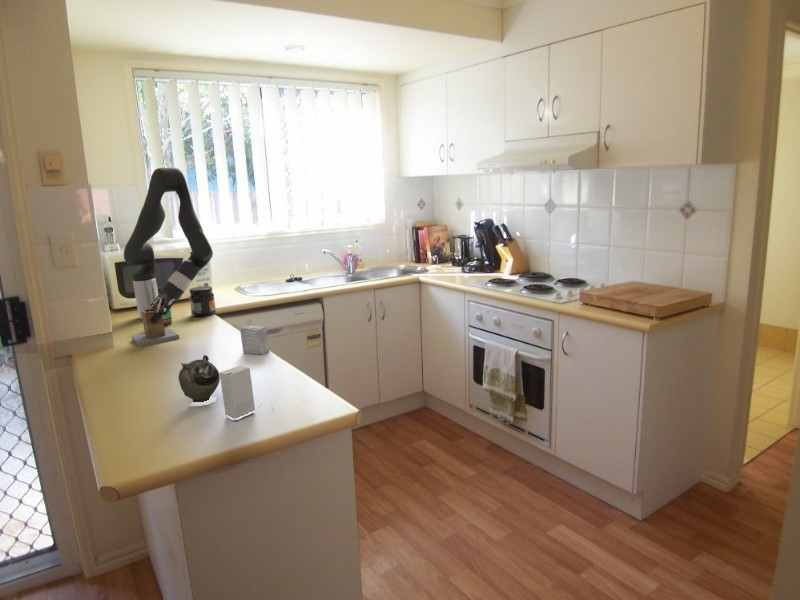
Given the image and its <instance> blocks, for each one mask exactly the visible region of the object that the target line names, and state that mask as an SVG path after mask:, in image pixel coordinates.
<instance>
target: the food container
mask: <svg viewBox="0 0 800 600" xmlns="http://www.w3.org/2000/svg"><path fill="white" fill-rule="evenodd" d="M147 309H150V305H147ZM162 317H163V323H164V328H166V327H168V326H171V325H172V323H173V321H172V319H173V318H172V307H171V308H170V309H169V311H168V312H167V313H166V315H163V316H162Z"/></svg>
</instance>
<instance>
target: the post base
mask: <svg viewBox="0 0 800 600" xmlns="http://www.w3.org/2000/svg"><path fill="white" fill-rule="evenodd" d="M164 330H165V336H160V337H155V338H150V339H149V338H148V337H146V336H145V333H143V334H139V335H138V334H137V335H132V336H131V340H133V341H132V342H134V344H136V345H137V346H138V347H140V348H141V347H145V345H147V346H150V345H149V344H151V345H154V344H153V343H156V344H159V343H158V342H161V343H164V342H163V341H165V342H169V341H168V340H170V341H173V340H172V339H175V340H179V339H180V334H179V333H177V332H175V330H172V329H171V328H168V329H167V328H166V329H164Z"/></svg>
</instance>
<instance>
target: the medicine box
mask: <svg viewBox="0 0 800 600" xmlns="http://www.w3.org/2000/svg"><path fill="white" fill-rule="evenodd" d="M239 329H240V330H239V331H240V338H241V346H242V352H247V353H246V354H250V353H257V354H256V355H259V354H262V355H264V354H266V353H268V352H270V344H269V336H268V329H267V327H266V326H260V325H245V326H243V327H242V328H239ZM267 351H268V352H267Z"/></svg>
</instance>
